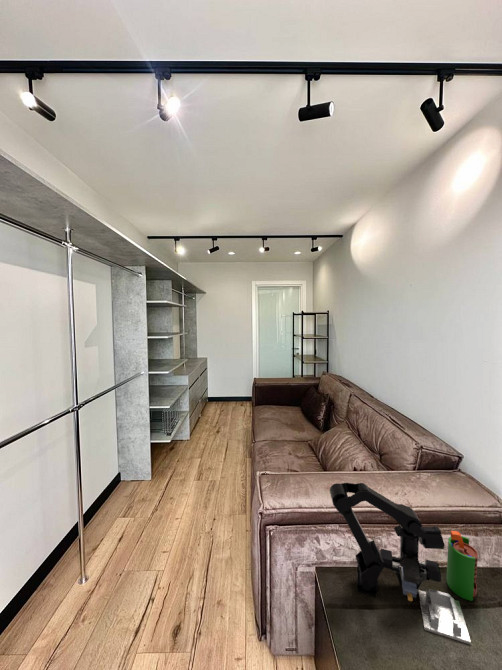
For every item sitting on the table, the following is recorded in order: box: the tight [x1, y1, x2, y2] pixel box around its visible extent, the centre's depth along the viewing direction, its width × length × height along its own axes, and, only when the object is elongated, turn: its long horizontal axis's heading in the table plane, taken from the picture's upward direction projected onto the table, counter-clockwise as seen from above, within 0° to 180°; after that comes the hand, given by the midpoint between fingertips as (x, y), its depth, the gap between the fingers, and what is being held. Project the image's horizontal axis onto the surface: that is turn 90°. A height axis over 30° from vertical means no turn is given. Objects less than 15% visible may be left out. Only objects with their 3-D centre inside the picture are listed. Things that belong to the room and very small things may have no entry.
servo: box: [400, 566, 418, 602], centre depth 107 cm, size 4×10×5 cm, turn 158°
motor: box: [446, 530, 479, 601], centre depth 106 cm, size 10×9×20 cm
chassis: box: [417, 588, 472, 645], centre depth 97 cm, size 12×13×4 cm
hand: (408, 585), depth 107 cm, fingers open, 5 cm apart
